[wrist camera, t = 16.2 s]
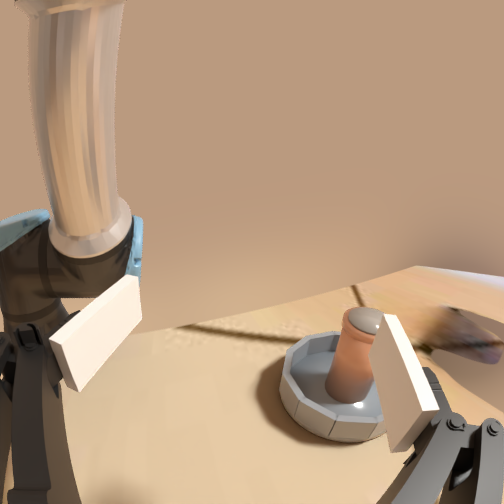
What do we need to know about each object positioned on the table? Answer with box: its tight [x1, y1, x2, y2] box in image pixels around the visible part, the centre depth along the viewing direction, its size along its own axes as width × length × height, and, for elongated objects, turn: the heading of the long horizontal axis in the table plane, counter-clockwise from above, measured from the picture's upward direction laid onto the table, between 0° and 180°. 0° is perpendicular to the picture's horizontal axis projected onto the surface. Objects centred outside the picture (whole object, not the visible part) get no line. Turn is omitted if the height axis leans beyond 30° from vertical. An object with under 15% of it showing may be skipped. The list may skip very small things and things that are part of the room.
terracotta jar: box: [325, 307, 386, 404], centre depth 35 cm, size 8×8×12 cm
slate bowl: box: [279, 331, 386, 442], centre depth 37 cm, size 20×20×4 cm
